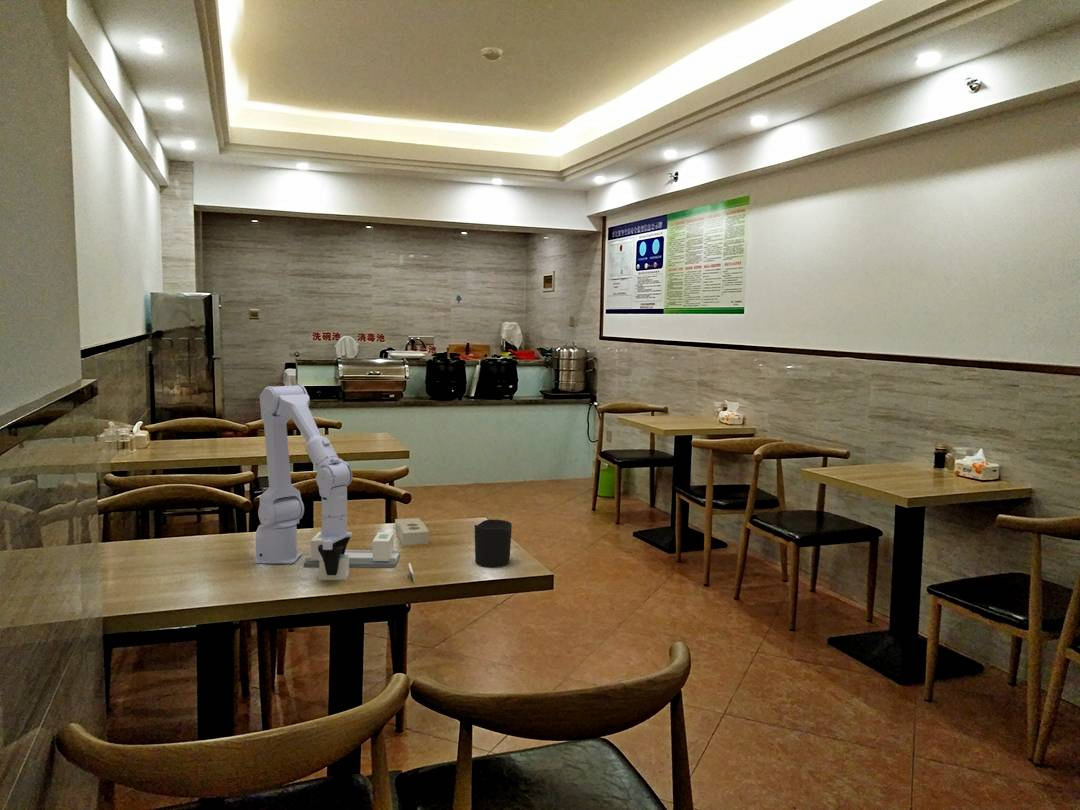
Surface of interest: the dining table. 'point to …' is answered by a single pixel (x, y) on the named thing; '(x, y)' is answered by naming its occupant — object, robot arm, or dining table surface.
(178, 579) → the dining table surface
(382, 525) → the dining table surface
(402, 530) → the electrical outlet
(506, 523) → the pen holder
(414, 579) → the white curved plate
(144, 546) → the dining table surface
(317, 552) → the grey stepped base
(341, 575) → the block
